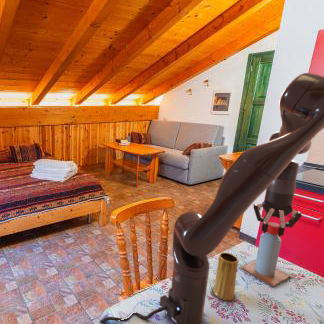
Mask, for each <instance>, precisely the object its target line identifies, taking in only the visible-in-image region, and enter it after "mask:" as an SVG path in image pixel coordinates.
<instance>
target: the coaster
mask: <svg viewBox="0 0 324 324" xmlns="http://www.w3.org/2000/svg"><path fill="white" fill-rule="evenodd" d="M255 264H256V260H254V261H251V262H250V263H248V264H245V265H243V266H241V268H240V269H241V270H244V271H245V272H247V273H248V274H250V275H251V276H254V277H256V278H257V279H259V280H260V281H262V282H264V283H266V284H267V285H269V286H271V287H275V286H277V285H279V284H280V283H283V282H285V281H286V280H289V279H290V278H291V275H290V274H288V273H285V272H283V271H282V270H279V269H278V268H276V270H275V274H274V276H265V275H262V274H260V273H258V272H257V271H256V270H255Z"/></svg>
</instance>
